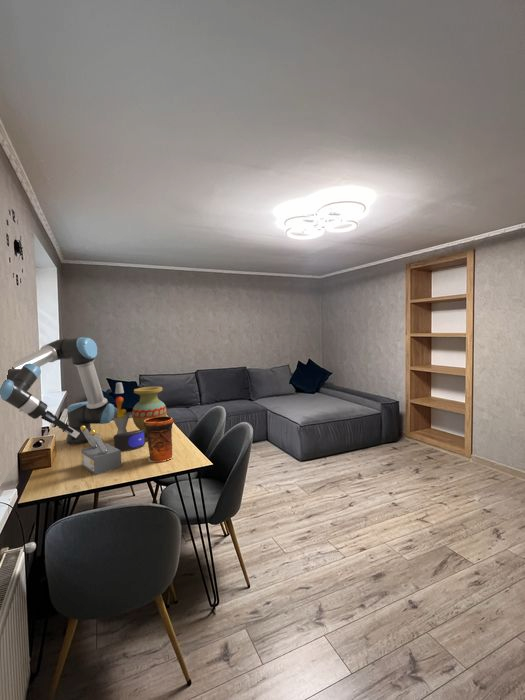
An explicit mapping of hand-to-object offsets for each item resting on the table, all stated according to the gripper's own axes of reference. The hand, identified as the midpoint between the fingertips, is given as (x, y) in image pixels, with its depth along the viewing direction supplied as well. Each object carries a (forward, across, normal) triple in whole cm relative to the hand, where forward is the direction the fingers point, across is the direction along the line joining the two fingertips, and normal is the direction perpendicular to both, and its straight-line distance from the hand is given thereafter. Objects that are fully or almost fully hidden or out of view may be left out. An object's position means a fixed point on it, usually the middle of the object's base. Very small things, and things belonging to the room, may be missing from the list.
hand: (77, 435), depth 163 cm
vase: (+44, -17, +21) cm, 52 cm away
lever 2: (+11, +12, 0) cm, 16 cm away
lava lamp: (+34, -25, +11) cm, 44 cm away
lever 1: (+11, 0, 0) cm, 11 cm away
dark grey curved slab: (+32, -9, +9) cm, 34 cm away
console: (+17, +6, -6) cm, 19 cm away
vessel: (+34, +19, +11) cm, 40 cm away
